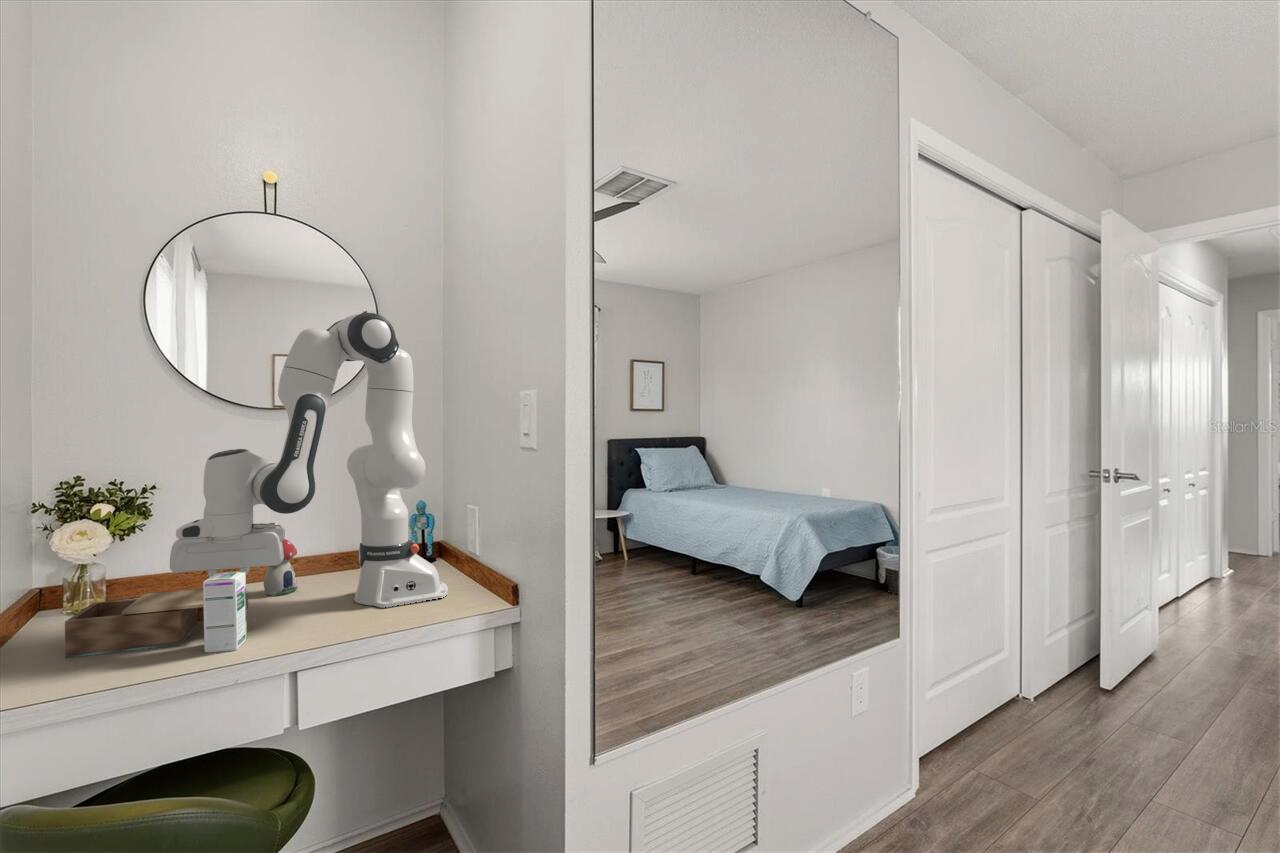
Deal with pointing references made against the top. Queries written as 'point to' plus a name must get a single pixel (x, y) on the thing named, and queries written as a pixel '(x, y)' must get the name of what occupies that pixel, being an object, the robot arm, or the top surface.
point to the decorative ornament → (282, 574)
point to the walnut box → (125, 629)
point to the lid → (166, 601)
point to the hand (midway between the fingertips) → (229, 588)
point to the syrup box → (224, 611)
